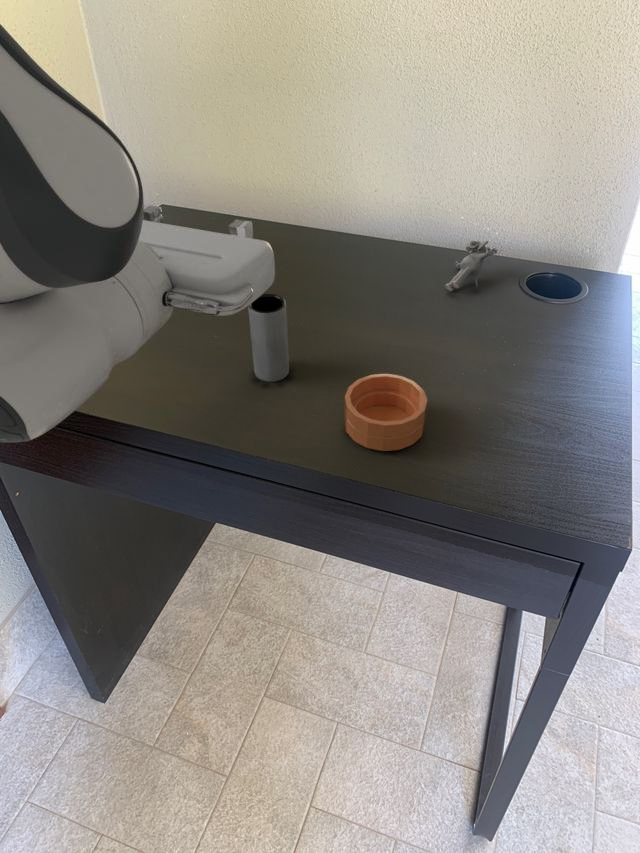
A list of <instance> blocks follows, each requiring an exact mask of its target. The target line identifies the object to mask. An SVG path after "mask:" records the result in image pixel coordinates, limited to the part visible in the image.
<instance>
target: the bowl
mask: <svg viewBox="0 0 640 853" xmlns="http://www.w3.org/2000/svg"><path fill="white" fill-rule="evenodd" d="M427 409H428V398H427V394H426V392H425V389H423V388H422V387H421V386H420V385H419V384H418V383H417V382H415V381H414V380H412V379H410V378H407V377H405V376H403V375H399V374H392V373H375V374H369V375H366V376H364V377H361V378H358V379H356V380H355V381H354V382H353V383H352V384H351V385H349V386H348V388H347V390H346V392H345V395H344V412H343V413H344V415H343V416H344V418H343V419H344V420H343V424H344V427H345V432H346V433H347V435H348V436H349V437H350V438H351V439H352V440H353V441H354V442H355V443H356V444H358V445H361V446H362V447H364V448H367V449H370V450H374V451H380V452H391V451H399V450H402V449H406V448H408V447H410V446H413V445H414V444H415V443H416V442H417V441H418V440H419V439H420V438H421V437H422V436H423V434H424V430H425V426H426V419H427V418H426V417H427Z"/></svg>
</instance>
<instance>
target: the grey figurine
mask: <svg viewBox="0 0 640 853" xmlns="http://www.w3.org/2000/svg"><path fill="white" fill-rule="evenodd" d="M487 244H489V241H488V240H484V241H482V242H481V241H479V240H477V241H476V240H468V242H467V244H466V242H463V247H464V249H465V251H468V253H469V255H467V256H465V257H464V258H463V259H462V260H461V262H458V261H455V267H456V268H457V269H460V270H459V271H458V273H457V274H456V275H455V276H453V277H452V279H451V280H450V282H448V283H446V284H445V285H444V287H445V288H446V290H448V291H449V292H451V293H452V292H453V291H454V290H455V289H457V290H458V289H459V290H460V288H461V287H462V285H463V284H464V282H465V280H466V279H467V278H469V277H472V278H474V282H475V286H476V288H478V280H479V273H480V271H481V269H482V268H483V265H484V260H485V259H486V258H487V257H490V256H493V255H495V254H497V253H498V249H497V248H495V247H494V248H490V247H489V246H486V245H487Z"/></svg>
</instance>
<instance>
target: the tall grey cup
mask: <svg viewBox="0 0 640 853" xmlns="http://www.w3.org/2000/svg"><path fill="white" fill-rule="evenodd" d="M247 308H248V319H249V329H250V330H249V331H250V340H251V350H252V362H253V371H254V375H255V377H256V378H257V379H259V380H261V381H263V382H268V383H269V382H270V383H271V382H272V383H273V382H279V381H281V380H283V379H285V378H286V377H287V376H288V375H289V373H290V357H289V340H288V339H289V337H288V319H287V302H286V300H285V299H284V298H283V297H282V296H280V295H279V294H275V293H263V294H262V295H261V296H260V297H259V298H257V299H256V300H255V301H254V302H252V303H251V304H250V305H248V306H247Z"/></svg>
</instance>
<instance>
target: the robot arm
mask: <svg viewBox="0 0 640 853" xmlns="http://www.w3.org/2000/svg"><path fill="white" fill-rule="evenodd" d="M142 184H143V183H142V180H141V176H140V172H139V170H138V167H137V164H136V163H135V161H134V159H133V157H132V155H131V154H130V152H129V150H128V149H127V147H126V146H125V144H124V143H123V142H122V140H121V139H120V138H119V136H118V135H117V134H116V133H115V132H114V131H113V130H112V129H111V128H110V127H109V126H108V125H107V124H106V123H105V122H104V121H103V119H101V118H100V117H99V116H98V115H97V114H95V113H94V112H93V111H92V110H91V109H90V108H88V107H87V106H86V105H84V104H83V103H82V102H81V101H80V100H78V99H77V98H76V97H74V95H73V94H71V93H70V92H68V90H66V89H65V88H64V87H62V86H61V85H60V84H59V83H58V82H57V81H56V80H55V79H54V78H52V76H50V75H49V73H48V72H46V71H45V70H44V69H43V68H42V67H41V66H40V65H39V64H38V63H37V62H36V61H35V60H34V58H32V57H31V55H29V54H28V52H27V51H26V50H25V49H24V48H23V47H22V46H21V45H20V44H19V42H17V40H16V39H14V37H13V36H12V35H11V34H10V33H9V32H8V31H7V29H6V28H5V27H4V26H3V25H2V24H1V23H0V443H3V444H4V443H6V444H8V443H9V444H11V443H12V444H13V443H14V444H15V443H24V442H25V443H26V442H29V441H32V440H34V439H37V438H39V437H41V436H43V435H44V434H46V433H47V432H49V431H50V430H52V429H53V428H55V427H56V426H58V425H59V424H60V423H62V422H63V421H64V420H66V419H67V418H68V417H69V416H70V415H72V414H73V413H75V411H77V409H79V408H80V407H81V406H82V405H83V404H84V403H85V402H87V401H88V400H89V399H90V398H91V397H92V396H93V395H94V394H95V393H96V392H98V390H99V389H100V388H101V387H102V386H103V385H104V384H105V383H106V381H108V379H109V377H110V375H111V373H112V370H113V368H114V367H115V366H116V365H118V364H120V363H122V362H124V361H126V360H128V359H130V358H131V357H132V356H134V355H135V354H136V353H137V352H138V351H139V350H140V349H141V348H142V347H144V345H145V344H146V343H147V342H148V341H149V340H150V339H151V338H152V337H153V336H154V335H155V334H156V333H157V332H158V331H159V330H160V329H161V328H162V327H163V326H164V325H166V324H167V322H168V321H169V320H170V318H171V316H172V314H173V311H174V308H176V309H179V310H186V311H191V312H195V313H201V314H205V315H209V316H219V317H226V316H233V315H235V314H237V313H239V312H242V311H243V310H244V309H246V308H248V305H250V304H251V303H252V302H254V301H255V300H256V299H257V298H259V297H260V296H261V295H262V294H265V292H266V291H268V290H269V288H271V286H273V284H274V282H275V279H276V261H275V255H274V250H273V248H272V246H271V244H270V243H269V242H268V241H266V240H264V239H263V240H262V239H259V238H258V239H257V238H254V228H253V221H251V220H244V219H236V218H235V219H234V220H233V222H231V223H230V224H229V225H228V232H229V234H228V233H222V232H216V231H209V230H202V229H198V228H192V227H187V226H181V225H174V224H169V223H164V216H163V215H162V213H163V210H162V207H160V206H156V205H151V204H145V201H144V200H145V198H144V188H143V185H142Z"/></svg>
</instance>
